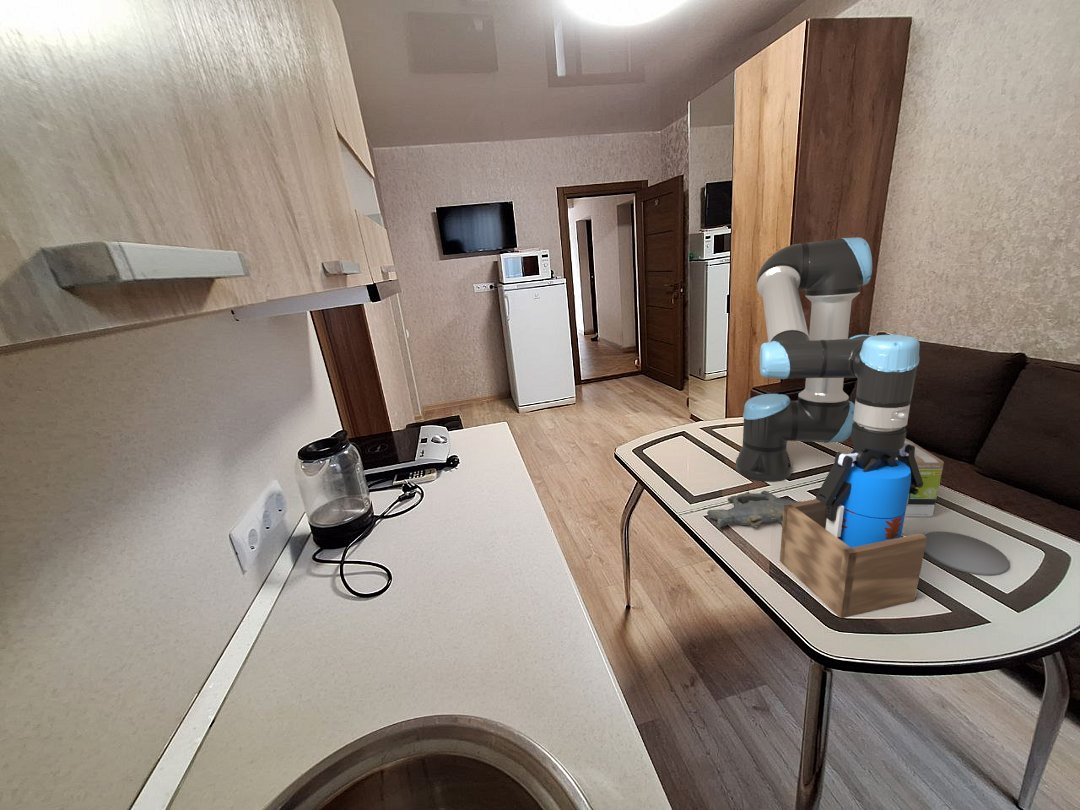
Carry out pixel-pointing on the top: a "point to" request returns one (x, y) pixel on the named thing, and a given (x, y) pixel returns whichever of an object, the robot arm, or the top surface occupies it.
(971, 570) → the coaster
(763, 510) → the stone fish figurine
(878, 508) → the thermos
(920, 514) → the tea box
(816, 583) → the walnut cubby
